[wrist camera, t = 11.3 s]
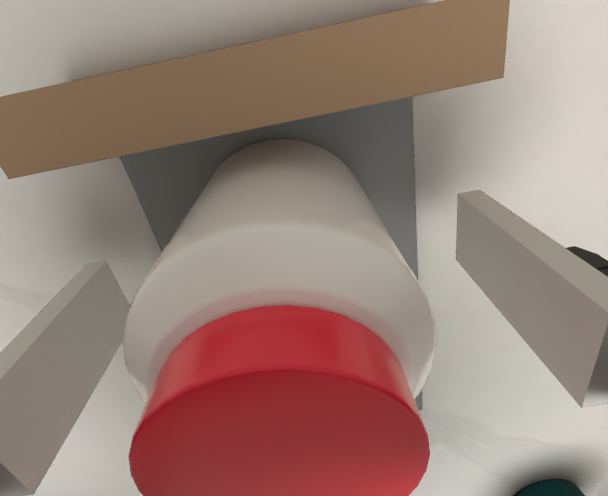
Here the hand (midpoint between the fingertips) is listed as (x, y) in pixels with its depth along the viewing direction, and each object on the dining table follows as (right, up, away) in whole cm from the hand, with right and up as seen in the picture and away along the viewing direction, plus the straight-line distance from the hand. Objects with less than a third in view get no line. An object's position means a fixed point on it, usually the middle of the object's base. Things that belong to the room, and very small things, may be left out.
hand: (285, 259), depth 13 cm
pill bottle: (0, +2, +3) cm, 4 cm away
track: (+1, -2, +6) cm, 6 cm away
